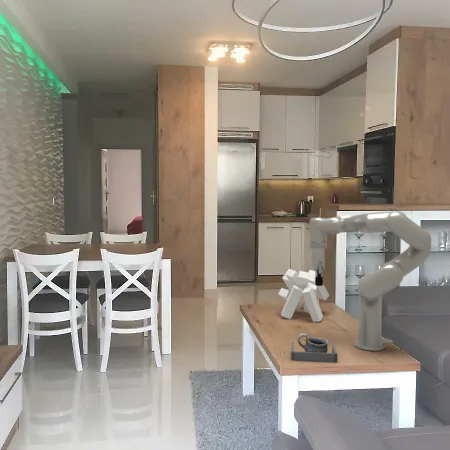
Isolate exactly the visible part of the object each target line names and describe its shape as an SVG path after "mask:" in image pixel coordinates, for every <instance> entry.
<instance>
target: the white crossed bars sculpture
mask: <svg viewBox="0 0 450 450" xmlns="http://www.w3.org/2000/svg"><path fill="white" fill-rule="evenodd" d="M315 277H316V276H315V271H314V270H313V269H309V270H308V272H307V271H303V270H299V272H298V271H296V270H294V269H292V268H288V270H287V271H286V272H285V274H284V275H283V276H282V277H281V278H282V280H283V282H284V284H285V286H287V289H286V288H285V287H281V288H280V290H279V292H278V294H277V295H278V296H280V298H282V300H283V301H284V302H285V303H284V306H283V308H282V309H281V313H280V314H281V317H283V318H285V319H288V320H292V317H293V315H294V313H295V310H296V311H300V309H301V307H302V305H303V312H304V313H307V314H309V315H310V317H311V320H312V322H313V323H315V322H321V320H322V319H323V317H324V314H323V313H322V310H321V306H320V305H319V302H318V299H319V300H320V299H321V300H323V301H325V302H326V301H327V299H328V297H330V294H329V292H328V290H327V289H326V286H325V285H324V284H323V286H316V285H315ZM302 298H303V299H304V304H302V302H301V301H300V300H301V299H302ZM317 298H318V299H317Z"/></svg>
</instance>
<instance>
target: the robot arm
mask: <svg viewBox="0 0 450 450" xmlns="http://www.w3.org/2000/svg"><path fill="white" fill-rule="evenodd" d="M357 232H359V233H364V234H370V233H371V234H373V233H386V232H391V233H393V234H394V235H395V236H396V237H398V238H400V239H401V240H402V241H403V242H405V243H406V244H408V245H409V246H408V247H407V248H406V250H404V251H402V252H401V253H399V255H397V256H395V257H394V258H393V259H391V260H389V261H387V262H386V263H384V264H383V265H382V266H381V268H379V269H377V270H376V271H374V272H373V273H371V274H367V275H365V276H363V277H362V278H361V279H360V280H359V282H358V285H357V293H358V295H359V297H358V299H359V301H358V340H356V341H355V342H354V346H355V347H356V348H358V349H359V350H363V351H370V352H371V351H372V352H373V351H374V352H375V351H376V352H377V351H382V350H384V349H385V347H386V344H387V345H393V339H389V338H383V336H382V317H383V316H382V314H383V296H384V295H385V294H387V293H388V292H390V291H392V290H393V289H395V288H396V287H398V286H400V284H401V283H402V281H403V279H404V277H406V276H408V274H410V273H411V272H413V271H414V270H416V269H417V268H419V267H420V266H421V265H422V264H423V263H424V262H425V261H426V260H427V258H428V257H429V255H430V253H431V250H432V236H431V233H430V232H429V231H428V230H427V229H425V228H423V227H421V226H420V225H418V224H417V223H415V222H414V221H413V220H411V219H410V218H409V217H408V216H407V215H406V213H404V212H403V211H399V210H395V211H394V210H393V211H392V210H391V211H383V212H381V211H380V212H370V213H369V212H368V213H362V214H356V215H355V214H354V215H342V216H341V215H340V216H339V215H338V216H333V217H328V218H327V217H326V218H324V217H311V218H310V219H309V249H310V250H311V270H313V271H315V276H316V277H315V285H316V286H323V285H324V283H323V282H324V280H323V279H324V278H323V271H325V267H326V266H325V265H326V263H325V261H326V259H325V257H326V256H325V254H326V253H325V249H326V250H327V248H328V237H327V236H328V235H339V234H341V233H357Z"/></svg>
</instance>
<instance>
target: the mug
mask: <svg viewBox="0 0 450 450" xmlns="http://www.w3.org/2000/svg"><path fill="white" fill-rule="evenodd" d="M308 335H309V334H307V333H304V332H302V333H300V334H299V335H298V336H297V344H298V345H299V346H300V347H301V348H303V349H304V352H320V353H328V350H329V349H328V345H329V340H328V339H326V338H322V337H309V336H308ZM303 337H305V344H302V343H301V342H300V339H301V338H303Z"/></svg>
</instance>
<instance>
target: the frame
mask: <svg viewBox="0 0 450 450" xmlns="http://www.w3.org/2000/svg"><path fill="white" fill-rule="evenodd" d="M290 344H291V345H290V347H291V348H290V349H291V351H290V353H291V354H290V355H291V356H290V359H291V360H295V362H310V363H311V362H315V363H331V364H332V363H338V351H337V348H336V345H335V343H333V344H331V352H327V353H320V352H305V351H297V350H296V351H295V343H294V342H291V343H290ZM291 360H290V361H291Z"/></svg>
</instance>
